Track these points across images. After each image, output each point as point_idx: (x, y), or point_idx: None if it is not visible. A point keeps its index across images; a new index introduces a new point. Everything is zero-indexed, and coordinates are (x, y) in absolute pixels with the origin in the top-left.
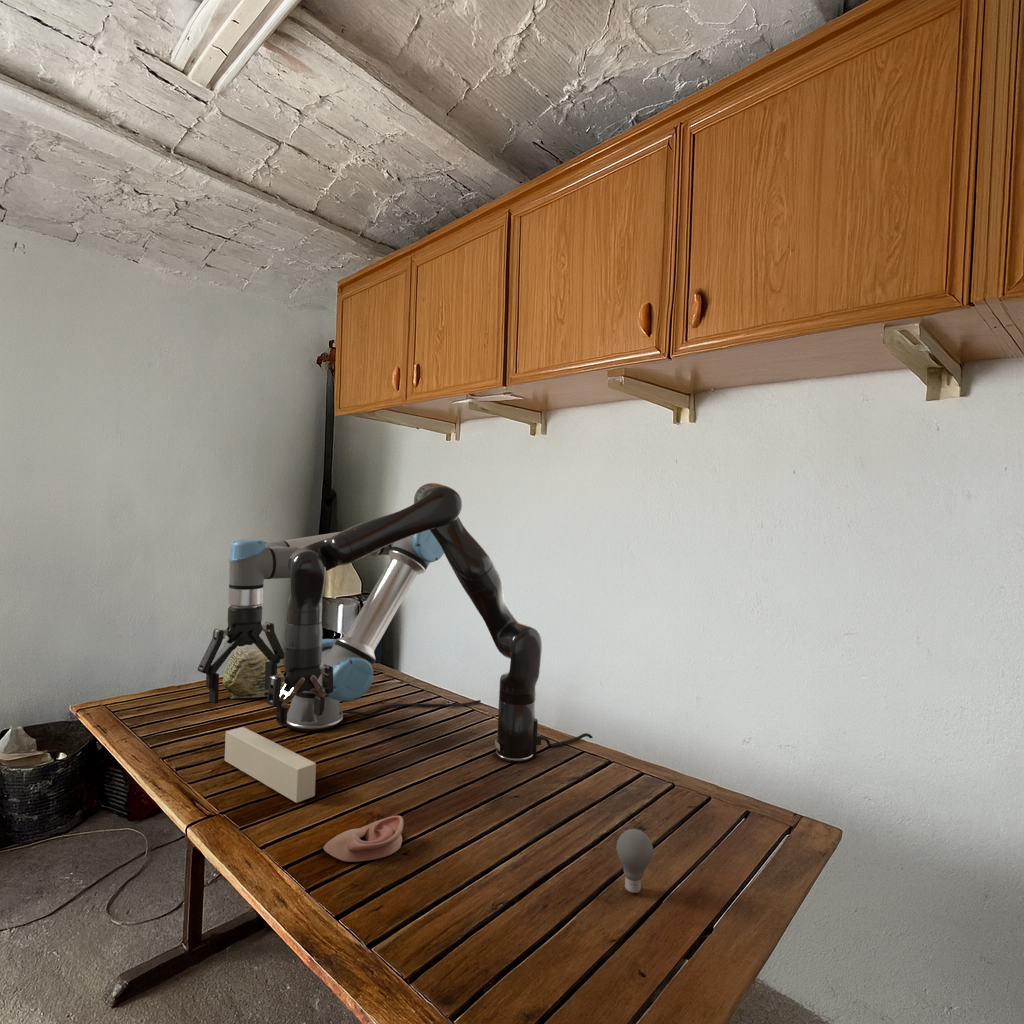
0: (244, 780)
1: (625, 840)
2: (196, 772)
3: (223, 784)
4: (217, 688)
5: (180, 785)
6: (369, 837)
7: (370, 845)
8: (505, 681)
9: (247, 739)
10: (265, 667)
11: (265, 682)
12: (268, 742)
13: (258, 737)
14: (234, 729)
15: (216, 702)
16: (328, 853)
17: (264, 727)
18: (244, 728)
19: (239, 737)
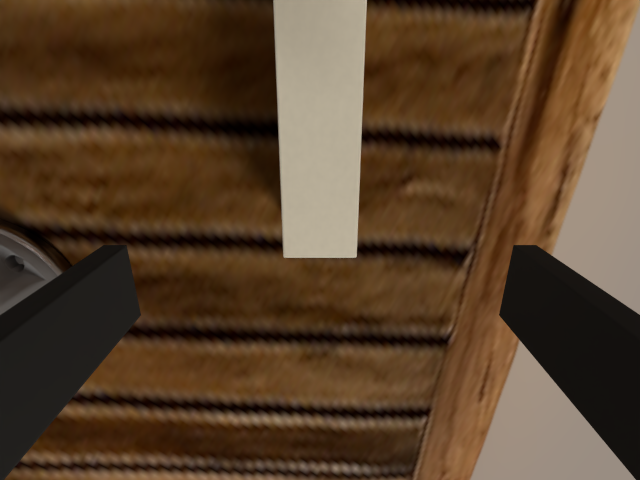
0: (383, 35)
1: None
2: (443, 201)
3: (442, 58)
4: (588, 296)
5: (521, 149)
6: None
7: None
8: None
9: (341, 116)
10: (34, 439)
11: (116, 333)
12: (293, 7)
13: (296, 102)
14: (322, 253)
15: (528, 246)
16: None
17: (148, 359)
18: (289, 237)
19: (353, 160)
